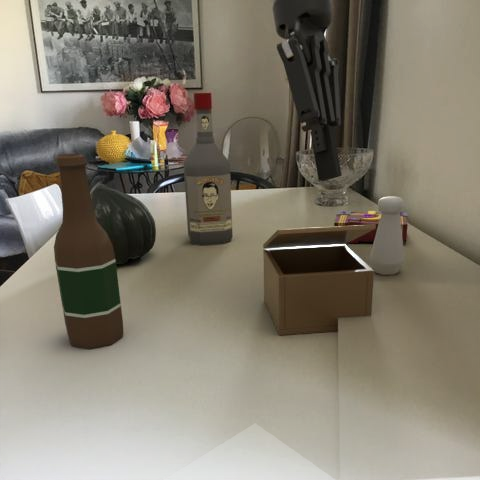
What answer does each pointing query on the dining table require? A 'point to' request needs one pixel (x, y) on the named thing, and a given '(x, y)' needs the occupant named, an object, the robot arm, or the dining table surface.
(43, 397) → the dining table surface
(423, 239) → the dining table surface
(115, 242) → the squash
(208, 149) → the liquor
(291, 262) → the open cardboard box
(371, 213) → the decorative book
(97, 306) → the beer bottle
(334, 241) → the cardboard lid
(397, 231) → the salt shaker
